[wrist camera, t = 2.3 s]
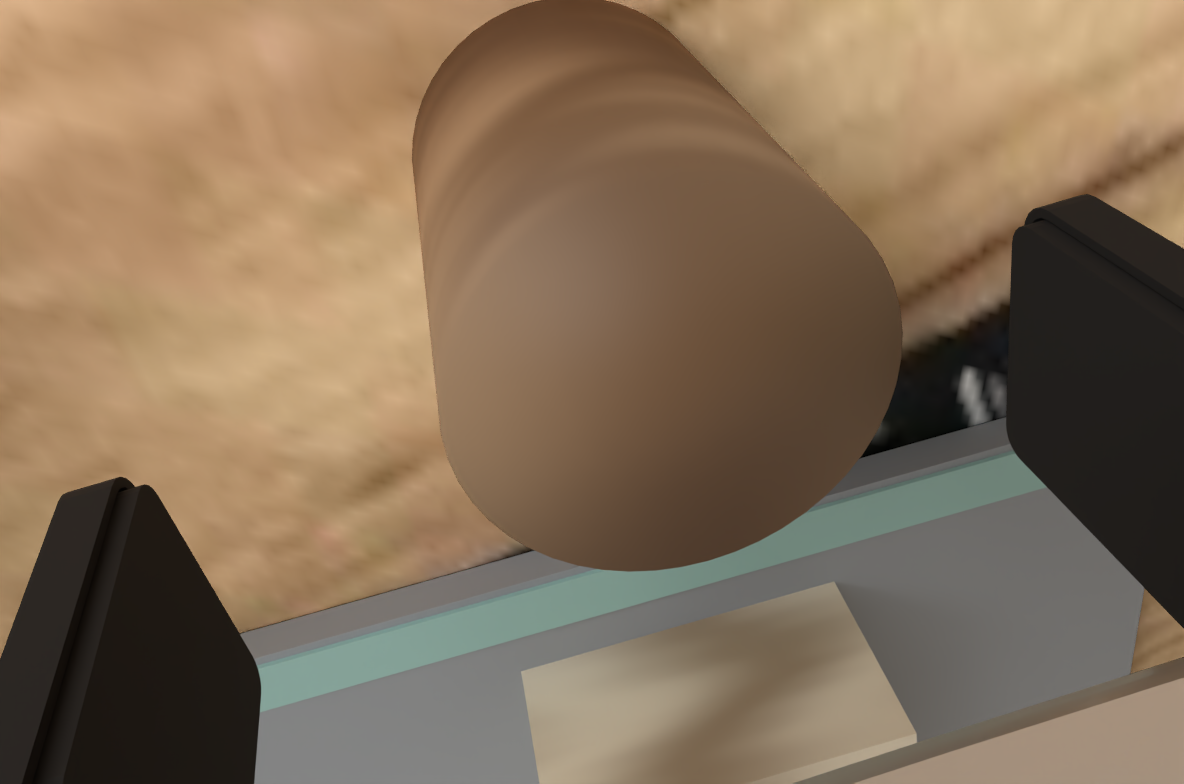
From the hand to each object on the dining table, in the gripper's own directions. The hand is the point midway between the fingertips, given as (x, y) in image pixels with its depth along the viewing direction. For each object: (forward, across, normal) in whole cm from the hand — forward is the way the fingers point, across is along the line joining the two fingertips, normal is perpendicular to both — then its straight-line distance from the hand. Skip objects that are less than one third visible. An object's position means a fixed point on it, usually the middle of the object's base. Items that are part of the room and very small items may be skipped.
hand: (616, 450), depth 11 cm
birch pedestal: (+6, -1, +14) cm, 15 cm away
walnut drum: (+7, -1, -1) cm, 7 cm away
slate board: (+7, -1, +13) cm, 15 cm away
